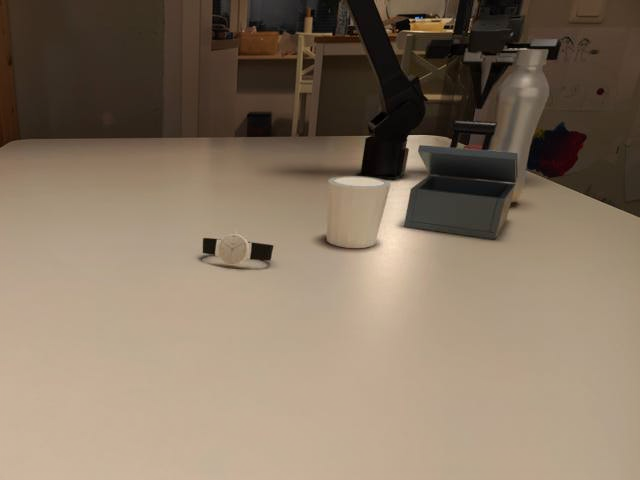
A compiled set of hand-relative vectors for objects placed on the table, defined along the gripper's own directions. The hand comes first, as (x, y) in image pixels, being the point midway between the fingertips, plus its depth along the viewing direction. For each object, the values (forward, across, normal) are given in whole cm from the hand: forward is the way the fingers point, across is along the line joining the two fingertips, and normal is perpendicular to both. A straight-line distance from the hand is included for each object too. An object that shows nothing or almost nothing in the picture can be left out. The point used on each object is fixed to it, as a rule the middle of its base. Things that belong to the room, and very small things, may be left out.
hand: (478, 108), depth 100 cm
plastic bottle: (+11, +7, -16) cm, 21 cm away
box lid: (+4, +5, -31) cm, 32 cm away
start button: (+8, 0, +2) cm, 8 cm away
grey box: (+11, +5, -32) cm, 34 cm away
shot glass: (+11, -4, -47) cm, 48 cm away
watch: (+11, -12, -61) cm, 63 cm away
